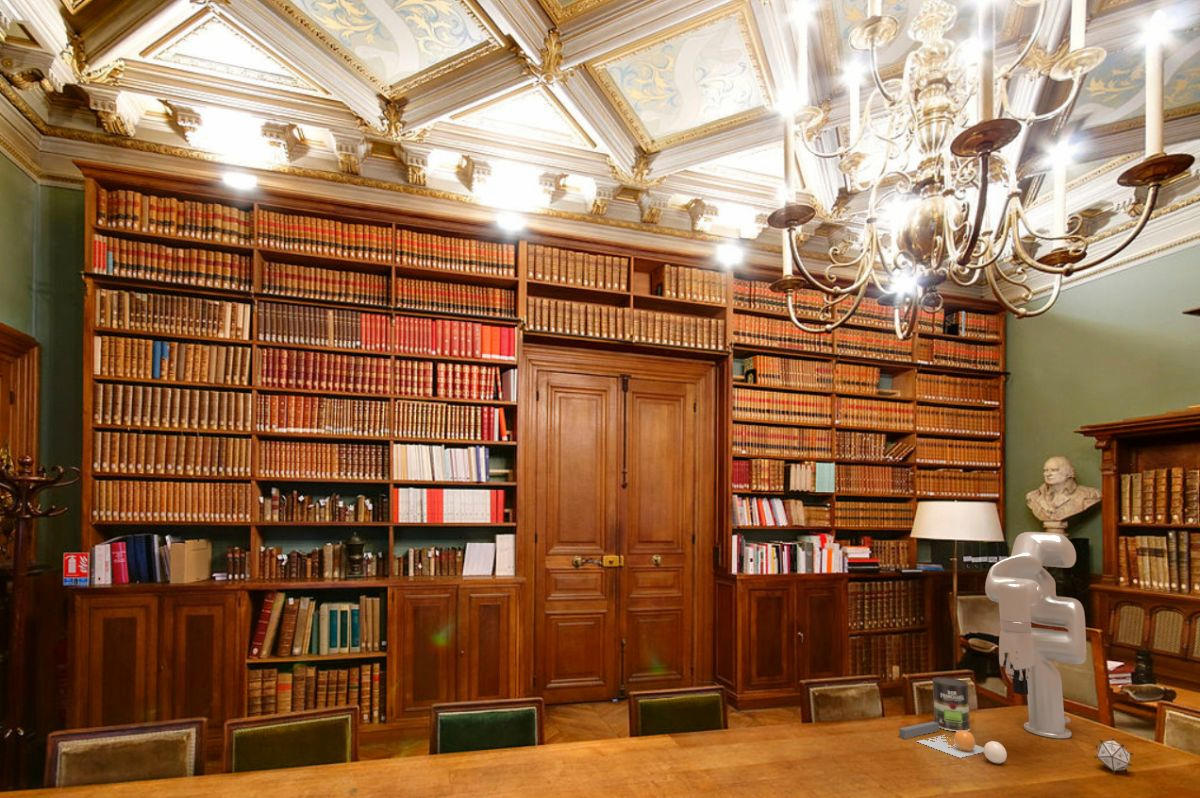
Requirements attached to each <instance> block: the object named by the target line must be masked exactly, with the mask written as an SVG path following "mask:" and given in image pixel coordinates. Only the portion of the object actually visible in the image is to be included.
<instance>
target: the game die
mask: <svg viewBox="0 0 1200 798" xmlns="http://www.w3.org/2000/svg"><path fill="white" fill-rule="evenodd" d="M1099 742H1100V744H1099V745H1097V744H1096V745H1094V746H1095V748H1097V751H1096V752H1097V753H1096V755H1094V756H1093V758H1094V759H1098V760H1099V761H1100V762H1101V763H1102V764H1103V765H1102V767H1103V766H1105V767H1107V768H1108V769H1110V770H1111V771H1112V774H1113V773H1114V774H1113V775H1115V774H1116V772H1118V771H1123V770H1124V772H1126V773H1127V772H1128V770H1127V768H1128V767H1129V766H1131V767H1133V766H1134V765H1133V763H1131V756H1134V753H1133V752H1129V751H1128V750H1127V749H1126V748H1125V747H1124V746H1125V744H1124V743H1122V744H1120V743H1119V742H1117V741H1115V738H1114V737H1111V740H1106V741H1105V740H1104V741H1103V740H1102V738H1099Z"/></svg>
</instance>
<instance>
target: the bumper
mask: <svg viewBox="0 0 1200 798" xmlns="http://www.w3.org/2000/svg"><path fill="white" fill-rule="evenodd" d="M937 731H939V732H940V728H939V723H936V722H935V721H933V720H932V721H929V722H924V723H919V724H913V725H910V726H905V727H900V728H898V734H899V738H900V737H901V739H903V738H904V739H903V740H907V738H908V739H911V738H910V737H913V738H915V737H914V736H917V737H919V736H918V735H922V736H924V735H923V734H926V735H929V734H928V733H931V734H934V733H933V732H935V733H938V732H937Z"/></svg>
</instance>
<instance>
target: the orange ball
mask: <svg viewBox="0 0 1200 798" xmlns="http://www.w3.org/2000/svg"><path fill="white" fill-rule="evenodd" d="M953 737H954V742H955V744H956V746H957V747H958V748H959V749H961V750H963V751H971V750H973V749H974V747H975V745H976V739H975V737H974V735H973V734H972V733H971V732H970V731H969V732H968V731H965V730H960V731H958V732H954V736H953Z"/></svg>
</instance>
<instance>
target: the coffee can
mask: <svg viewBox="0 0 1200 798" xmlns="http://www.w3.org/2000/svg"><path fill="white" fill-rule="evenodd" d="M931 680H932V681H931V682H932V688H933V689H932V691H933V714H934V722H936V723H939V729H940V728H941V729H940V730H943V729H944V730H943V731H946V730H949V731H948V732H951V731H956V732H958V731H960V730H965V731H969V730H970V731H971V727H970V726H971V725H970V707H969V683H968V682H967V681H964V680H962V679H958V678H952V677H943V676H940V677H939V676H938V677H933V678H932V679H931ZM970 731H969V732H970ZM956 732H955V733H956Z"/></svg>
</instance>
